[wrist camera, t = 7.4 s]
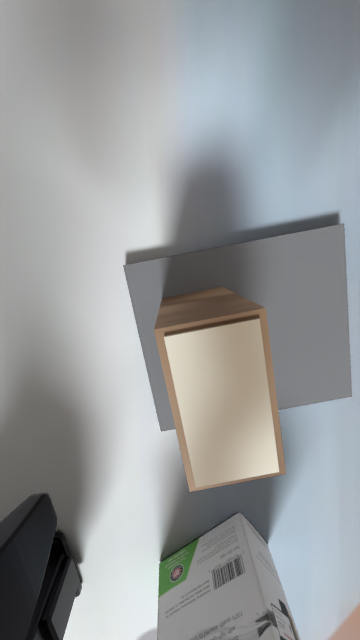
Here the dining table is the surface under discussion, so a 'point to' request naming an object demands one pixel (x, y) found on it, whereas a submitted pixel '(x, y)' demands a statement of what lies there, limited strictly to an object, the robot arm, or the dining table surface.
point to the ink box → (223, 589)
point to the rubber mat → (270, 292)
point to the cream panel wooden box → (220, 387)
